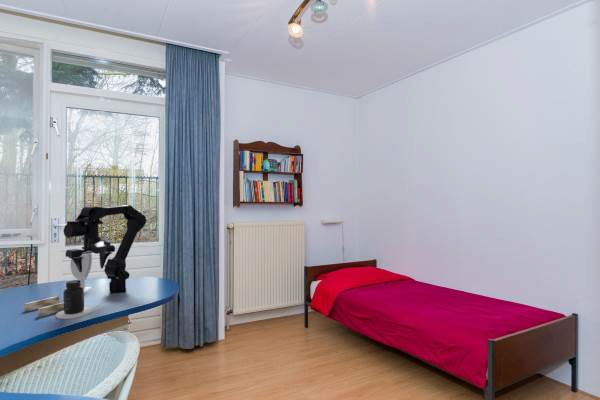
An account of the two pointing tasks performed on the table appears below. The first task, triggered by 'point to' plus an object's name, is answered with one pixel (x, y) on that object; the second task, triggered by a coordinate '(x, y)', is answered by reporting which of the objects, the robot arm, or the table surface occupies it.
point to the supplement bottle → (73, 297)
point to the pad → (69, 316)
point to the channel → (45, 306)
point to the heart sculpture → (85, 270)
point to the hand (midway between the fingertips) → (91, 270)
